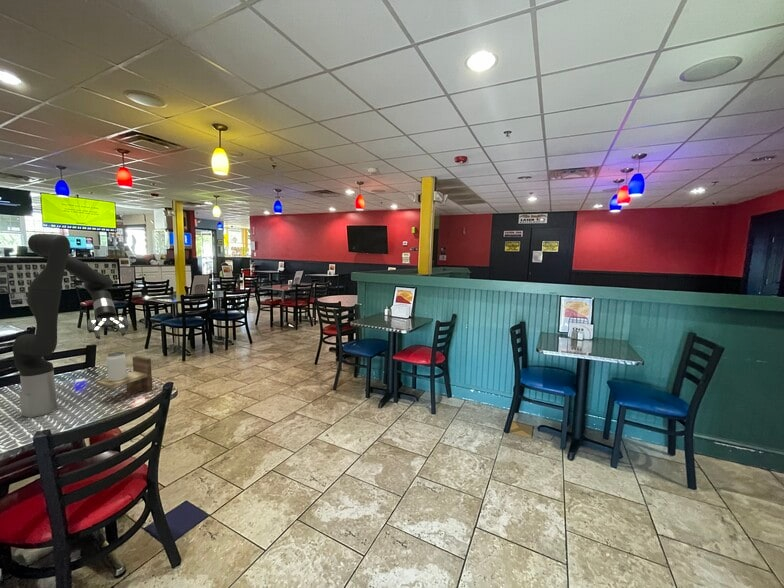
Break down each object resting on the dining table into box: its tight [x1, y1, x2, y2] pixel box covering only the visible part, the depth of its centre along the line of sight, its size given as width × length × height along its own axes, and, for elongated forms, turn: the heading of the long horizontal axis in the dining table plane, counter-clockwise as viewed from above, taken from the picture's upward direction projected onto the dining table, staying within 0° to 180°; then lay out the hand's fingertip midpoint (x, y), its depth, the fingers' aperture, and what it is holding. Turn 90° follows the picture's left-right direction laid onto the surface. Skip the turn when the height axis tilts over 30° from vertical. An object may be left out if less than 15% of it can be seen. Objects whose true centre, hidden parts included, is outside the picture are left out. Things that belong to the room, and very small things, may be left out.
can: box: [106, 351, 128, 382], centre depth 145 cm, size 6×6×12 cm
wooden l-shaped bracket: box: [96, 355, 154, 396], centre depth 148 cm, size 17×10×16 cm, turn 161°
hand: (111, 336), depth 148 cm, fingers open, 8 cm apart
